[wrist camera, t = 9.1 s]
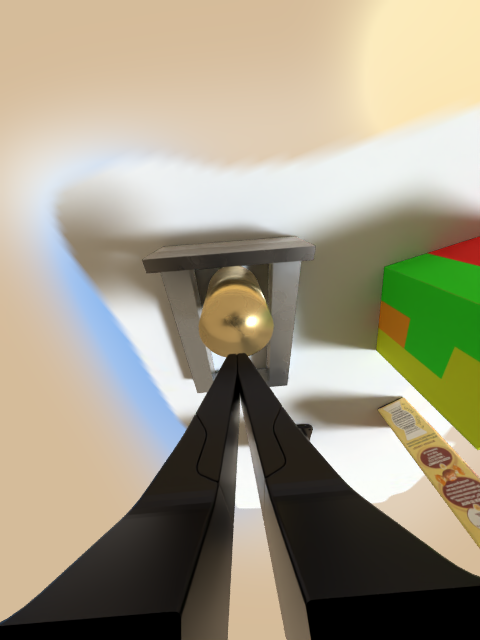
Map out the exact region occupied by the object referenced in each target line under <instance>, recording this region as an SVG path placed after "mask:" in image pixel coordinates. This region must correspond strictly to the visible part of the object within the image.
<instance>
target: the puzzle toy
mask: <svg viewBox="0 0 480 640" xmlns="http://www.w3.org/2000/svg"><path fill="white" fill-rule="evenodd" d="M376 350H377V351H378V352H379V353H380V354H381V355H382V356H383V357H384V358H385V359H386V360H387V361H388V362H389V363H390V364H391V365H392V366H393V367H394V368H395V369H396V370H397V371H398V372H399V373H400V374H401V375H402V376H403V377H404V378H405V379H406V380H407V381H408V382H409V383H410V384H411V385H412V386H413V387H414V388H415V389H416V390H417V391H418V392H419V393H420V394H421V395H422V396H423V397H424V398H425V399H426V400H427V401H428V402H429V403H430V404H431V405H432V406H433V407H434V408H435V409H436V410H437V411H438V412H439V413H440V414H441V415H442V416H443V417H444V418H445V419H446V420H447V421H448V422H449V423H450V424H451V425H452V426H454V427H455V428H456V429H457V430H458V431H459V432H460V433H461V434H462V435H463V436H464V437H465V438H466V439H467V440H468V441H469V442H470V443H471V444H472V445H473V446H474V447H475V448H476V449H477V450H480V236H479V237H476V238H473V239H470V240H467V241H464V242H461V243H458V244H454V245H451V246H448V247H445V248H442V249H439V250H436V251H432V252H429V253H426V254H423V255H420V256H417V257H414V258H411V259H407V260H404V261H401V262H398V263H395V264H392V265H389V266H385V267H384V276H383V286H382V297H381V307H380V317H379V327H378V337H377V347H376Z"/></svg>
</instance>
